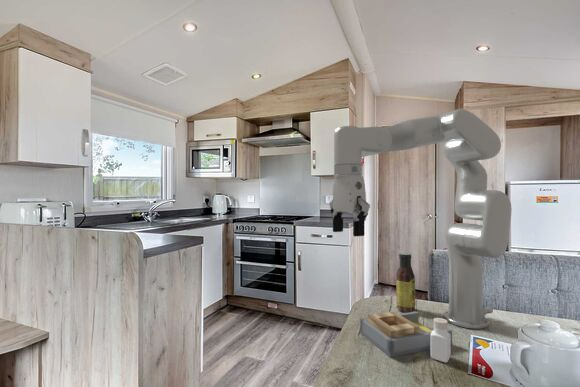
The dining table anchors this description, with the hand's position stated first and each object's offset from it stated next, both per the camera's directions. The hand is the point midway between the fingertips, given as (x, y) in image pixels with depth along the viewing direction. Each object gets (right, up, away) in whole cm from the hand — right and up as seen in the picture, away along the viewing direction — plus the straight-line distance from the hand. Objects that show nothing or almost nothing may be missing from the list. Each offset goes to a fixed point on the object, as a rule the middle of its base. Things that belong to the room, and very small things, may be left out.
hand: (347, 233), depth 83 cm
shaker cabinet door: (+13, -29, +1) cm, 32 cm away
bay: (+16, -30, +2) cm, 34 cm away
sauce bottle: (+25, -31, +24) cm, 46 cm away
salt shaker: (+22, -30, -8) cm, 38 cm away
